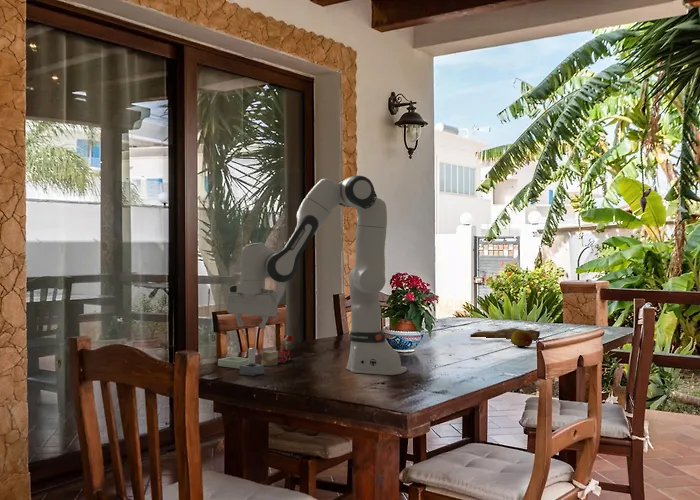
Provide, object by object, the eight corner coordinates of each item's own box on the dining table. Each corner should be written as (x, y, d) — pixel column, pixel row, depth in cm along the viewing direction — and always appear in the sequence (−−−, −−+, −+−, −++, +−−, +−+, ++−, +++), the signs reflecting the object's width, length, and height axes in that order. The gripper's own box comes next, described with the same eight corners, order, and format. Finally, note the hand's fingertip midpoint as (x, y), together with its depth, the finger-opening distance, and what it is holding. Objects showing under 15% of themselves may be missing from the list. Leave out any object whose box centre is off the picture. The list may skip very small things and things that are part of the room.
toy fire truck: (275, 363, 271) (275, 338, 271) (285, 357, 285) (285, 334, 285) (283, 363, 271) (283, 338, 271) (293, 358, 284) (293, 334, 284)
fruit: (534, 347, 323) (535, 330, 323) (528, 349, 316) (528, 331, 316) (514, 345, 329) (514, 328, 329) (508, 347, 321) (508, 330, 321)
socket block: (263, 373, 250) (263, 364, 250) (253, 375, 244) (253, 367, 244) (249, 371, 253) (249, 363, 253) (239, 374, 247) (239, 365, 247)
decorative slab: (541, 339, 356) (541, 329, 356) (535, 344, 336) (535, 334, 336) (477, 335, 368) (477, 325, 368) (468, 340, 348) (468, 330, 348)
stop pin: (256, 373, 249) (256, 348, 249) (252, 374, 247) (252, 349, 247) (250, 372, 250) (251, 347, 250) (246, 374, 248) (247, 348, 248)
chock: (277, 364, 270) (277, 351, 270) (269, 366, 265) (270, 352, 265) (269, 363, 272) (269, 350, 271) (261, 365, 267) (261, 352, 267)
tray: (252, 365, 266) (252, 358, 266) (239, 368, 258) (239, 361, 258) (231, 363, 270) (231, 356, 270) (217, 366, 263) (217, 359, 263)
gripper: (281, 289, 246) (280, 328, 246) (235, 286, 256) (234, 324, 256) (271, 290, 241) (270, 330, 241) (224, 287, 250) (223, 325, 250)
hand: (251, 327), depth 248 cm, fingers open, 8 cm apart
